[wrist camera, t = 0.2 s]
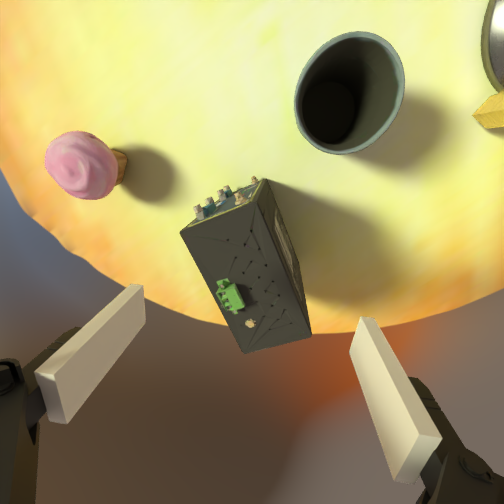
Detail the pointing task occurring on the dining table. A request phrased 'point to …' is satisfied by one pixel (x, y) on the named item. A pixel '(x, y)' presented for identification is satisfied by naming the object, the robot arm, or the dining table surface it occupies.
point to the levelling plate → (493, 43)
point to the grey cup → (349, 92)
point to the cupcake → (84, 165)
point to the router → (250, 266)
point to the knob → (491, 111)
